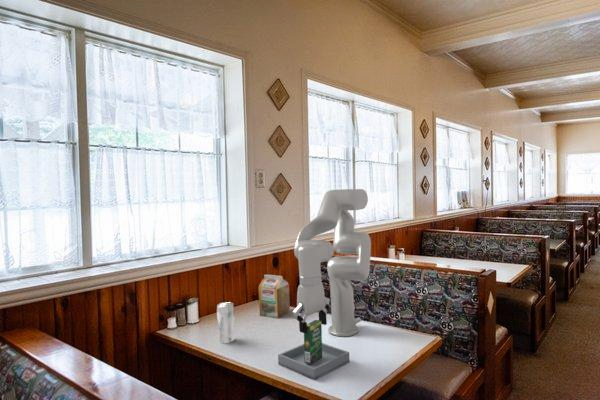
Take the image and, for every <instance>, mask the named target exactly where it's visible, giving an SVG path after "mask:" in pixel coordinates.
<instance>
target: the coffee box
mask: <svg viewBox="0 0 600 400" xmlns="http://www.w3.org/2000/svg"><path fill="white" fill-rule="evenodd" d="M322 332H323V330H322V324H321V321H319V319H315V320H313V321H311V322H308V323H307V333H306V334H305V333H303V344H304V361H305V363H308V364H312V363H313V362H315V361H316V360H318V359H320V358H321V357H322V343H323V342H322V340H323V337H322V336H323V335H322V334H323V333H322Z"/></svg>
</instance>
